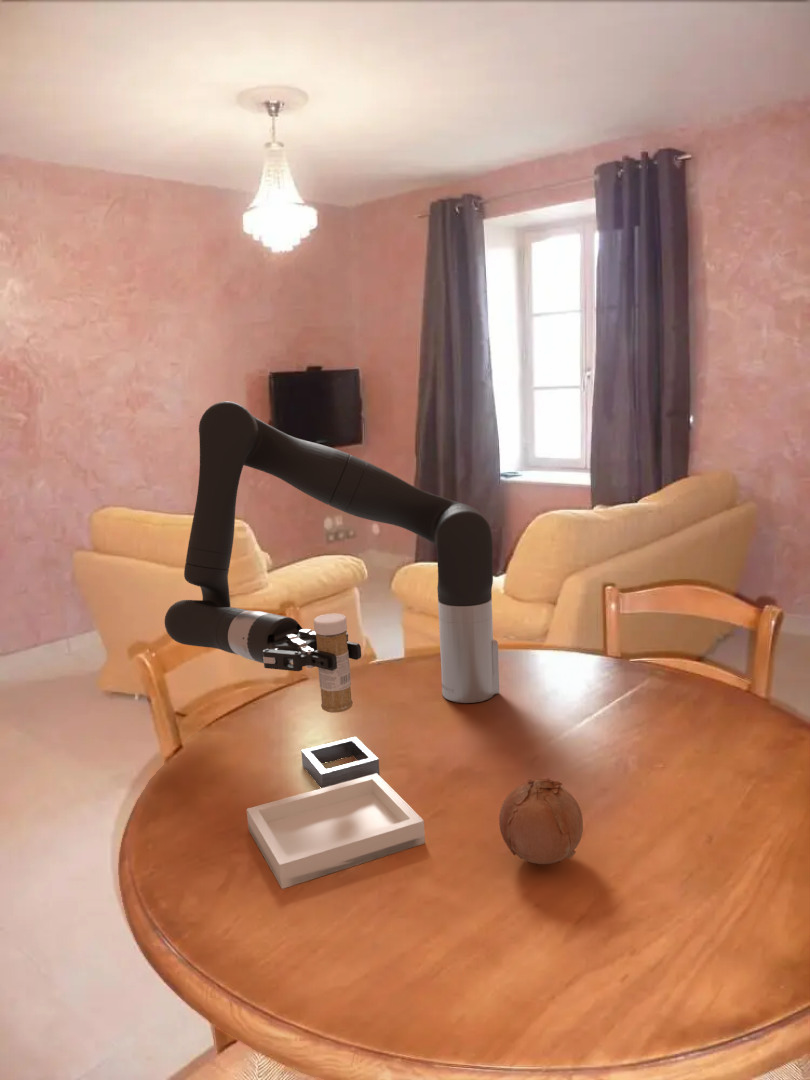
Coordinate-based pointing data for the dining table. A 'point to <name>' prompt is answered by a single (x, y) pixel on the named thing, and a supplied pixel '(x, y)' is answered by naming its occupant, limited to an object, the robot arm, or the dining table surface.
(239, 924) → the dining table surface
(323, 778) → the metal collar
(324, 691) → the sprinkles bottle
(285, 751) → the dining table surface
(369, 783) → the plastic tray
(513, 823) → the onion
